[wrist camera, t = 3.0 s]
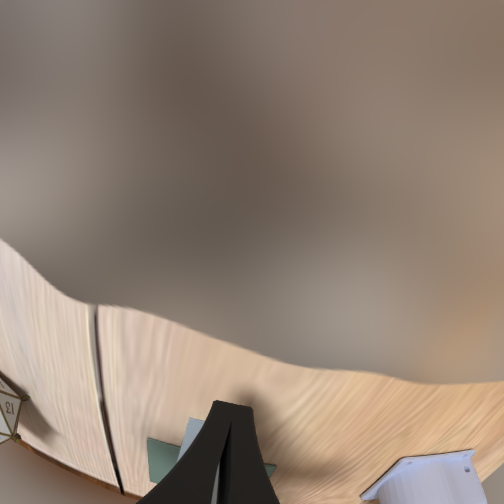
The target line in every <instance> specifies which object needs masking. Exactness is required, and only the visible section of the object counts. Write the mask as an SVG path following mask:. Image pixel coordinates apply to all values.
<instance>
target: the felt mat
mask: <svg viewBox="0 0 504 504" xmlns="http://www.w3.org/2000/svg"><path fill="white" fill-rule="evenodd" d="M180 449H181V447H178V446H174V445H170V444H167V443H163V442H160V441H157V440H154V439H150V438H147V451H148V464H149V475H150V481H151V482H154V483H157V484H158V483H159V482H160V481H161V480H162V479H163V478H164V477H165V476H166V475H167V474H168V473H169V471H170V470H171V469H172V468H173V467H174V466H175V465H176V463H177V460H178V456H179V453H180ZM264 466H265V469H266V472H267V474H268V477H269V478H270V476H271V475H272V473H273V472H274V470H275V468H276V465H268V464H264Z"/></svg>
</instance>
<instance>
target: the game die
mask: <svg viewBox="0 0 504 504" xmlns="http://www.w3.org/2000/svg"><path fill="white" fill-rule="evenodd" d="M28 399H29V396H26V395H25V396H23V397H20V396H19V395H18V394H17V393H16V392H15V391H14V390H13V389H12V388H11V387H10V386H9V385H8V384H7V383H6V382H5V381H4V380H3V379H2V378H1V377H0V444H2V443H4V442H6V441H8V440H9V439H11V438H13V440H14V441H15V442H19V443H20V441H19V439H21V436H20V435H19V434H17V427H18V421H19V415H20V410H21V404H22V401H26V400H27V401H28Z"/></svg>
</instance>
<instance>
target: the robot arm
mask: <svg viewBox="0 0 504 504" xmlns="http://www.w3.org/2000/svg"><path fill="white" fill-rule="evenodd" d="M474 454H475V450H474V449H471V450H466V451H459V452H453V453H446V454H438V455H428V456H418V457H406V458H402V459H400V460H399V461H398V462H397V463H396V464H395V465H394V466H393V467H392V468H391V469H390V470H389V471H388V472H387V473H386V474H385V475H384V476H383V477H382V478H381V479H379V480H378V481H377V482H376V483H375V484H374V485H373V486H372V487H371V488H369V489H368V490H367V491H366V492H365V493H364V494H362V495H361V500H371V499H379V501H380V504H487V500H486V497H485V494H484V491H483V488H482V486H481V483H480V480H479V478H478V475H477V472H476V470H475V467H474V465H473V462H472V460H471V457H472V456H473V455H474ZM219 462H220V463H219ZM218 466H219V475H218V488H217V500H216V504H280V503H279V500H278V498H277V496H276V494H275V492H274V490H273V487H272V485H271V482H270V480H269V477H268V474H267V472H266V469H265V466H264V463H263V459H262V456H261V452H260V449H259V445H258V441H257V436H256V431H255V425H254V418H253V409H252V408H251V407H247V406H242V405H237V404H233V403H228V402H223V401H219V400H216V401H213V404H212V407H211V410H210V412H209V414H208V416H207V419H206V420H205V422H204V424H203V426H202V428H201V430H200V431H199V433H198V434H197V436H196V437H195V439H194V440H193V442H192V444H191V445H190V446H189V448H188V449H187V450H186V452H185V453H184V454H183V456H182V457H181V458H180V460H179V461H178V462H177V463H176V465H175V466H174V467H173V468H172V469H171V470H170V471H169V473H168V474H167V475H166V476H165V477H164V478H163V479H162V480H161V481H160V482H159V483H158V484H157V485H156V486H155V487H154V488H153V489H152V490H151V491H150V492H149V493H148V494H146V495H145V496H144V497H143V498H142V499H141V500H140V501H138V502H137V503H136V504H211V502H212V496H213V490H214V484H215V478H216V473H217V469H218Z"/></svg>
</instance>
